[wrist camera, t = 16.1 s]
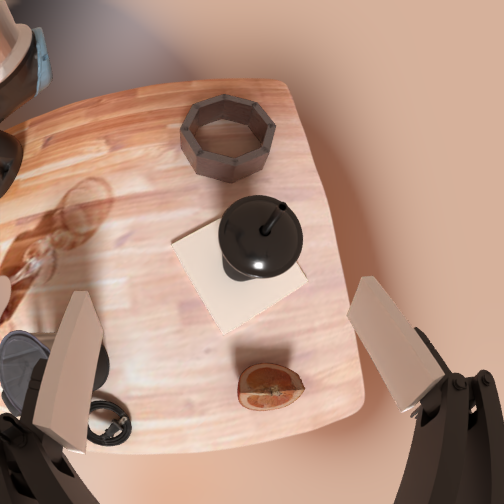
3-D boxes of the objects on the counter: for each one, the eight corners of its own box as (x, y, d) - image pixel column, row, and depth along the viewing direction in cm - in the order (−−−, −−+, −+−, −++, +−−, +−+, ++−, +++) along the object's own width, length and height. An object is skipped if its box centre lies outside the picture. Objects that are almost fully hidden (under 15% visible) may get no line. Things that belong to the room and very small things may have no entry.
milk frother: (72, 315, 31) (10, 310, 17) (161, 380, 32) (137, 418, 18) (40, 387, 27) (-17, 407, 13) (122, 449, 28) (91, 501, 14)
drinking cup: (276, 279, 37) (351, 240, 18) (225, 300, 35) (252, 282, 16) (255, 229, 38) (305, 148, 19) (204, 247, 36) (207, 173, 17)
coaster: (171, 245, 36) (170, 244, 36) (256, 201, 40) (257, 199, 39) (223, 335, 35) (223, 335, 34) (306, 282, 38) (308, 281, 38)
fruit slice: (294, 360, 36) (307, 366, 31) (291, 404, 34) (303, 415, 29) (234, 361, 34) (239, 368, 29) (233, 406, 33) (238, 419, 28)
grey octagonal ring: (171, 132, 40) (169, 112, 36) (240, 107, 44) (244, 88, 39) (208, 194, 39) (209, 178, 34) (281, 161, 43) (290, 144, 38)
